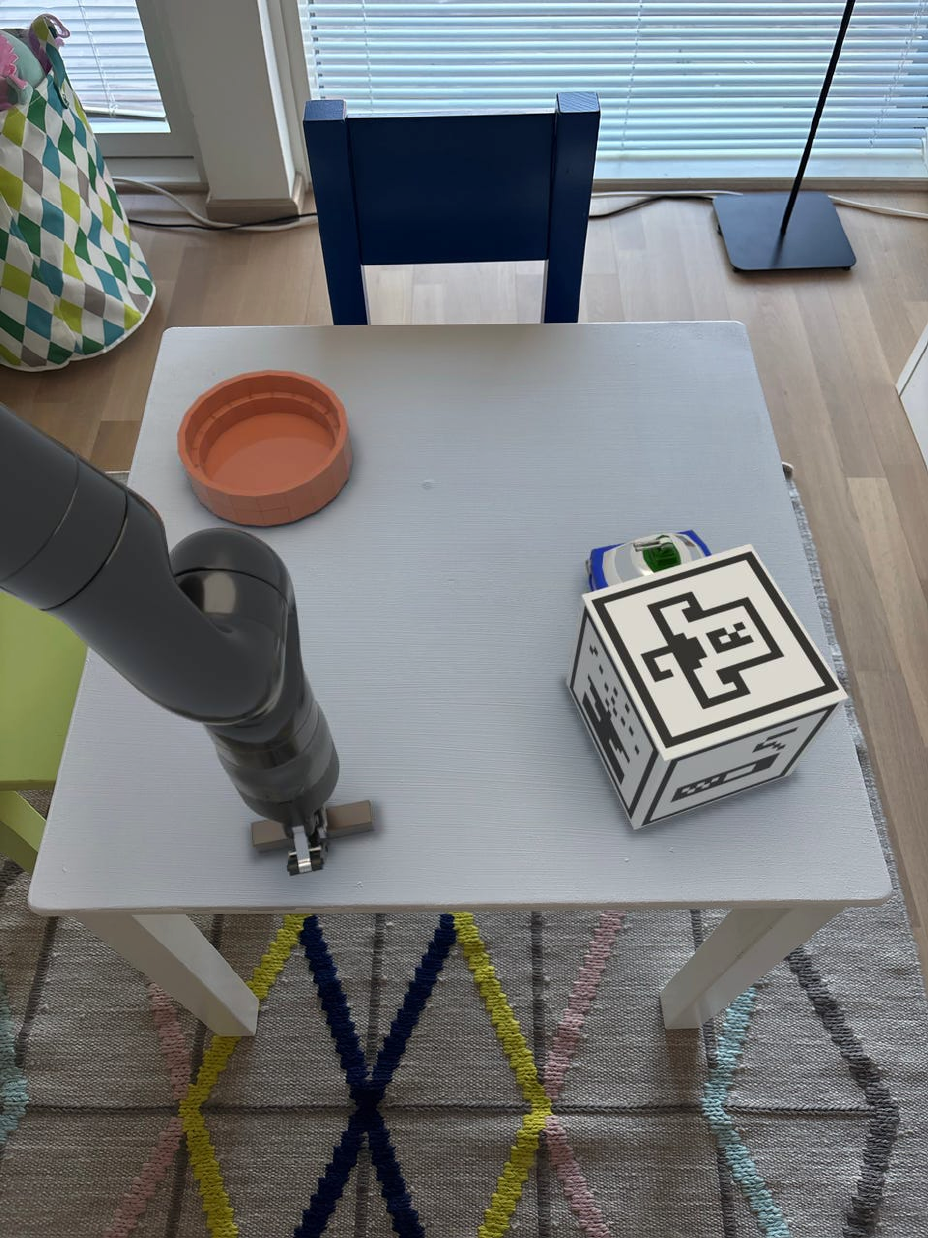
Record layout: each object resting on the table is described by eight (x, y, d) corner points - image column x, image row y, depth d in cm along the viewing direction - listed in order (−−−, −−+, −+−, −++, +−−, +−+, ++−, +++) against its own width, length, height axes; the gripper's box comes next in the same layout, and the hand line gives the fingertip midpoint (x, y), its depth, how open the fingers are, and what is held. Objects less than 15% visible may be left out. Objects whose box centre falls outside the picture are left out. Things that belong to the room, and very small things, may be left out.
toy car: (577, 571, 92) (586, 512, 84) (690, 548, 93) (710, 488, 85) (605, 649, 87) (618, 594, 79) (723, 623, 88) (748, 568, 80)
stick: (375, 829, 78) (372, 821, 76) (257, 853, 77) (252, 845, 75) (371, 807, 79) (369, 799, 77) (256, 830, 78) (251, 822, 76)
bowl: (195, 541, 95) (180, 508, 90) (188, 419, 104) (174, 383, 99) (363, 513, 96) (357, 479, 92) (342, 395, 105) (335, 359, 101)
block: (790, 774, 80) (849, 697, 67) (634, 830, 78) (664, 761, 65) (710, 636, 88) (750, 543, 75) (566, 683, 85) (581, 595, 73)
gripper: (217, 672, 67) (264, 764, 81) (229, 855, 59) (279, 920, 74) (320, 653, 67) (348, 749, 82) (344, 832, 60) (370, 901, 75)
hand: (315, 830), depth 78 cm, fingers closed on stick, 2 cm apart
